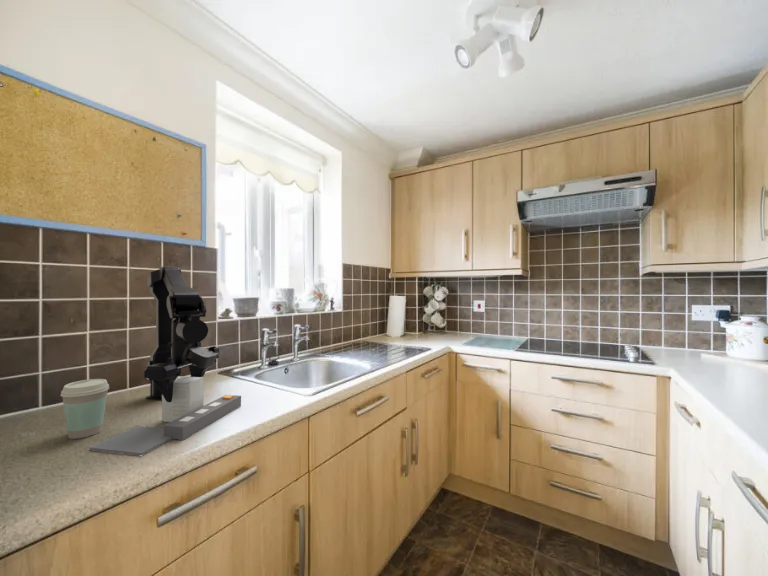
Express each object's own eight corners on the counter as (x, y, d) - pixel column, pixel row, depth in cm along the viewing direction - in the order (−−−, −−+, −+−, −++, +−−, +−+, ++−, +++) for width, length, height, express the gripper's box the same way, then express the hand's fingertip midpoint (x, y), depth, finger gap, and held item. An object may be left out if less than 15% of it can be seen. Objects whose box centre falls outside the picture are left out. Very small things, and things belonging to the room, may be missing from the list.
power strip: (163, 438, 73) (164, 423, 73) (225, 404, 95) (225, 393, 95) (182, 440, 73) (183, 425, 73) (240, 405, 94) (241, 394, 94)
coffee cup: (104, 422, 82) (105, 376, 82) (112, 432, 76) (113, 382, 76) (57, 434, 75) (58, 383, 75) (62, 445, 70) (62, 391, 70)
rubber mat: (89, 450, 68) (89, 447, 68) (136, 428, 79) (137, 425, 79) (141, 456, 66) (141, 453, 66) (183, 432, 77) (183, 430, 77)
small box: (204, 415, 87) (204, 376, 87) (189, 423, 82) (190, 382, 82) (177, 413, 88) (177, 375, 88) (160, 421, 83) (161, 381, 83)
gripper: (183, 345, 75) (182, 411, 75) (233, 334, 93) (232, 387, 93) (142, 343, 76) (141, 408, 76) (199, 333, 95) (198, 385, 95)
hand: (183, 396), depth 85 cm, fingers open, 9 cm apart
